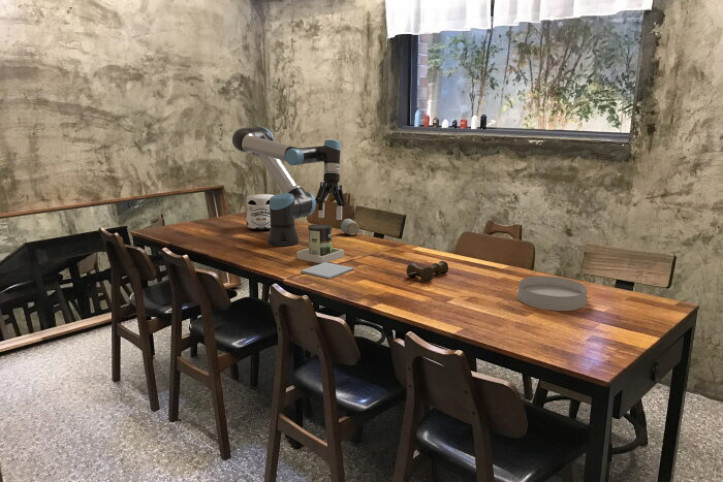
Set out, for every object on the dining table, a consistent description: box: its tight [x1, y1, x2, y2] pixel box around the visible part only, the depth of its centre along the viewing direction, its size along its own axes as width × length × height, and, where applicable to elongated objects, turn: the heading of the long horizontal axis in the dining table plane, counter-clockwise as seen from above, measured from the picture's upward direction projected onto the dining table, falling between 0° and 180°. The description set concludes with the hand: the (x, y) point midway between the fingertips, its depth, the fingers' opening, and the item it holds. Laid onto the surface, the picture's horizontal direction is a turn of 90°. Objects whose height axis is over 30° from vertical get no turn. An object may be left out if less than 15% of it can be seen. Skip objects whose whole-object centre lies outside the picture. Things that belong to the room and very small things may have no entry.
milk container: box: [245, 193, 274, 231], centre depth 297 cm, size 17×17×18 cm
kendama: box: [406, 260, 449, 283], centre depth 209 cm, size 6×10×20 cm
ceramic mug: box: [340, 218, 364, 236], centre depth 283 cm, size 11×8×8 cm
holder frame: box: [296, 247, 345, 264], centre depth 238 cm, size 15×15×3 cm
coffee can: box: [307, 223, 333, 256], centre depth 237 cm, size 10×10×14 cm
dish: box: [517, 275, 588, 312], centre depth 184 cm, size 22×22×5 cm
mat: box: [300, 262, 355, 280], centre depth 218 cm, size 15×15×1 cm
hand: (330, 218), depth 255 cm, fingers open, 13 cm apart
